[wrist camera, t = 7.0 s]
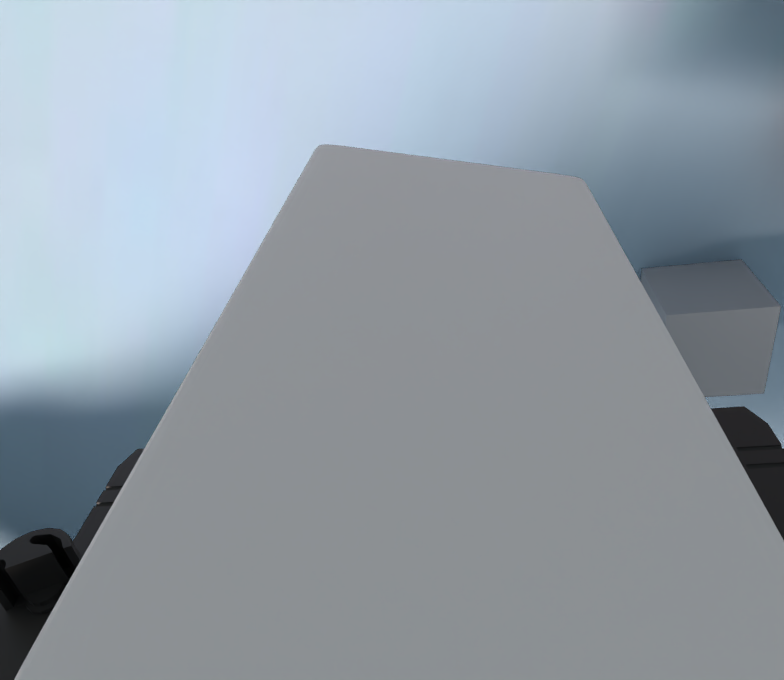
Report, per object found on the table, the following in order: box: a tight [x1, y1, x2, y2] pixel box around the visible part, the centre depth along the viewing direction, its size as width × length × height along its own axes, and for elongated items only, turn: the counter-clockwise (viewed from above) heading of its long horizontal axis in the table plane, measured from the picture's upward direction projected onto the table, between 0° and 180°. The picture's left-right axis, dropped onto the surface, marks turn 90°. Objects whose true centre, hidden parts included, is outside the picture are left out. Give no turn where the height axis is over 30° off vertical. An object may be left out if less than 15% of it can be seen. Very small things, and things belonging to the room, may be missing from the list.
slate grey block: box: [641, 259, 781, 397], centre depth 34 cm, size 5×5×5 cm
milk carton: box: [14, 144, 784, 680], centre depth 11 cm, size 7×7×19 cm
